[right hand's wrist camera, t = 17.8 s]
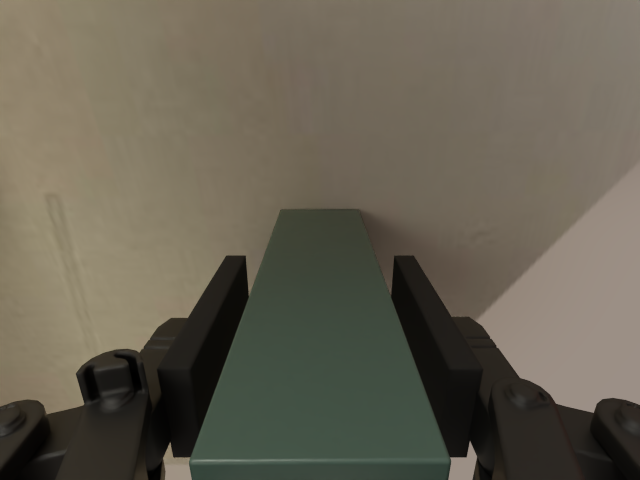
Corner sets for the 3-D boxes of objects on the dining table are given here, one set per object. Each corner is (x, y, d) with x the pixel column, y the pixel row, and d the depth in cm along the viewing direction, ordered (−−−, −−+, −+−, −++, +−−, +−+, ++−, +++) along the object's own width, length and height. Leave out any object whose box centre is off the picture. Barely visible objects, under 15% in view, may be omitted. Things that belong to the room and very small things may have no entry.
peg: (283, 280, 20) (214, 616, 7) (280, 209, 19) (186, 462, 6) (356, 279, 20) (427, 615, 7) (358, 208, 19) (453, 461, 5)
